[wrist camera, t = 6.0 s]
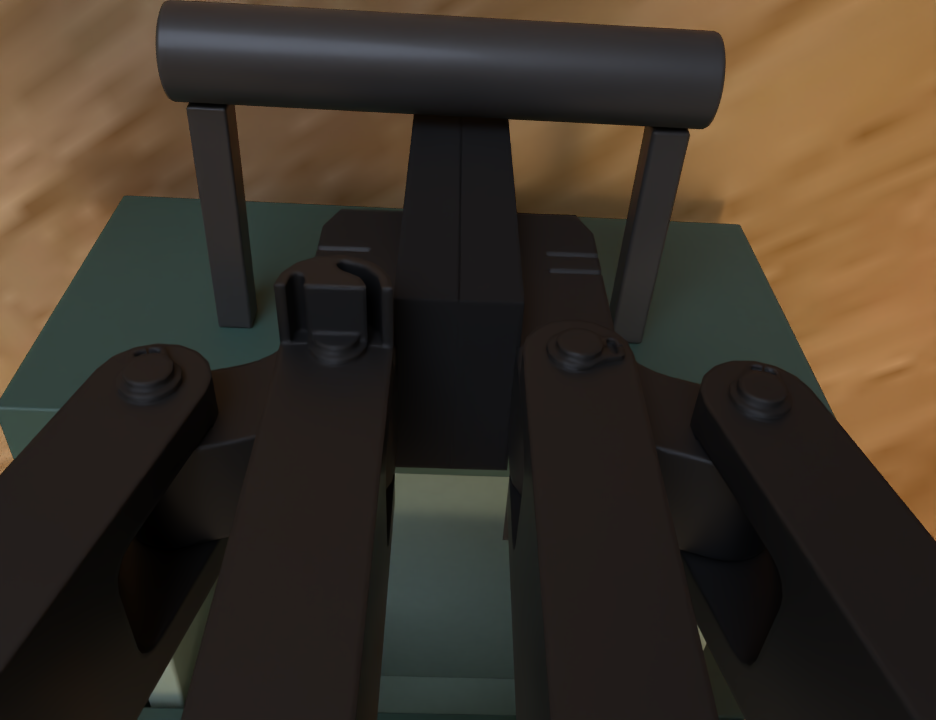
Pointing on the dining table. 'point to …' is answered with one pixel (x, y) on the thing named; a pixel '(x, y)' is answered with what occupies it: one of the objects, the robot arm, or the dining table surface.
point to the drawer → (299, 225)
